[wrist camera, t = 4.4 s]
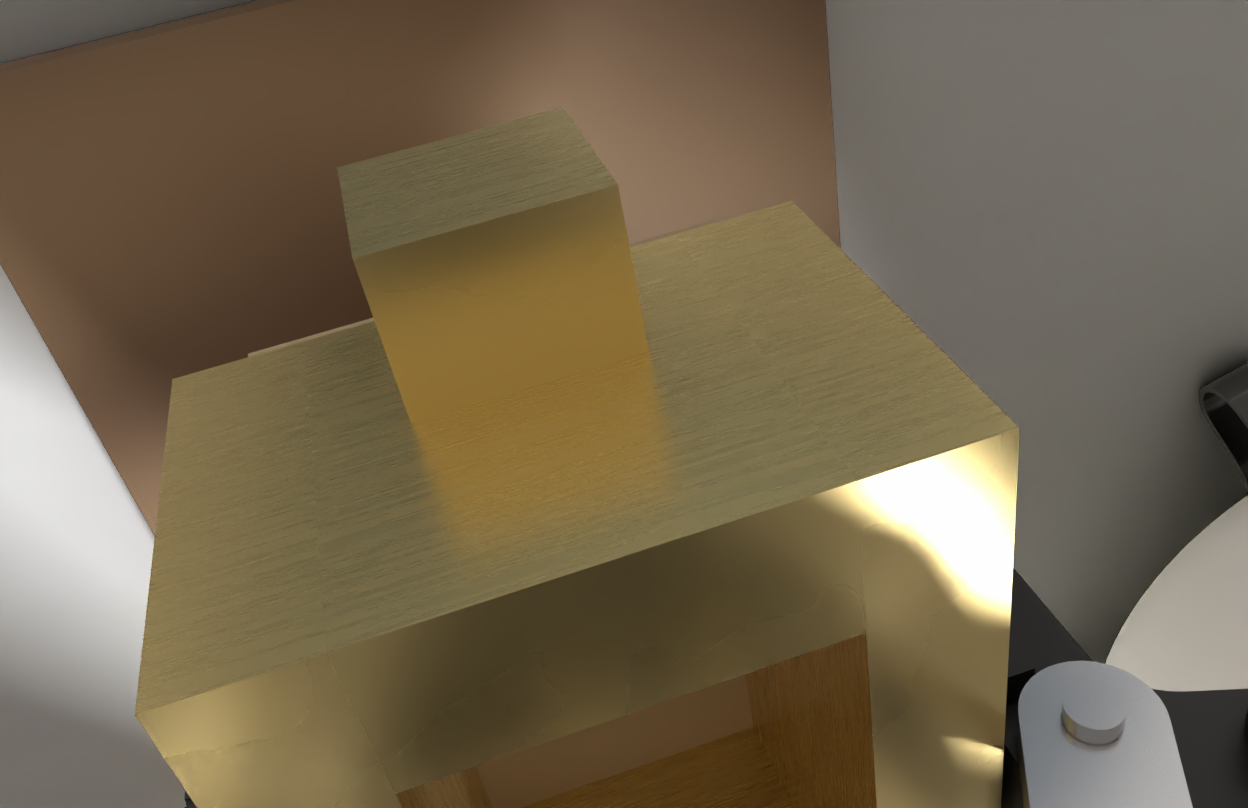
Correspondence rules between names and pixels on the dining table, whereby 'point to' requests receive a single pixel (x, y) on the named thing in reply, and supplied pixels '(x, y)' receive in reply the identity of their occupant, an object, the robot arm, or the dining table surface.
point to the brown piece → (314, 212)
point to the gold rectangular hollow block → (581, 513)
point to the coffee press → (1200, 582)
